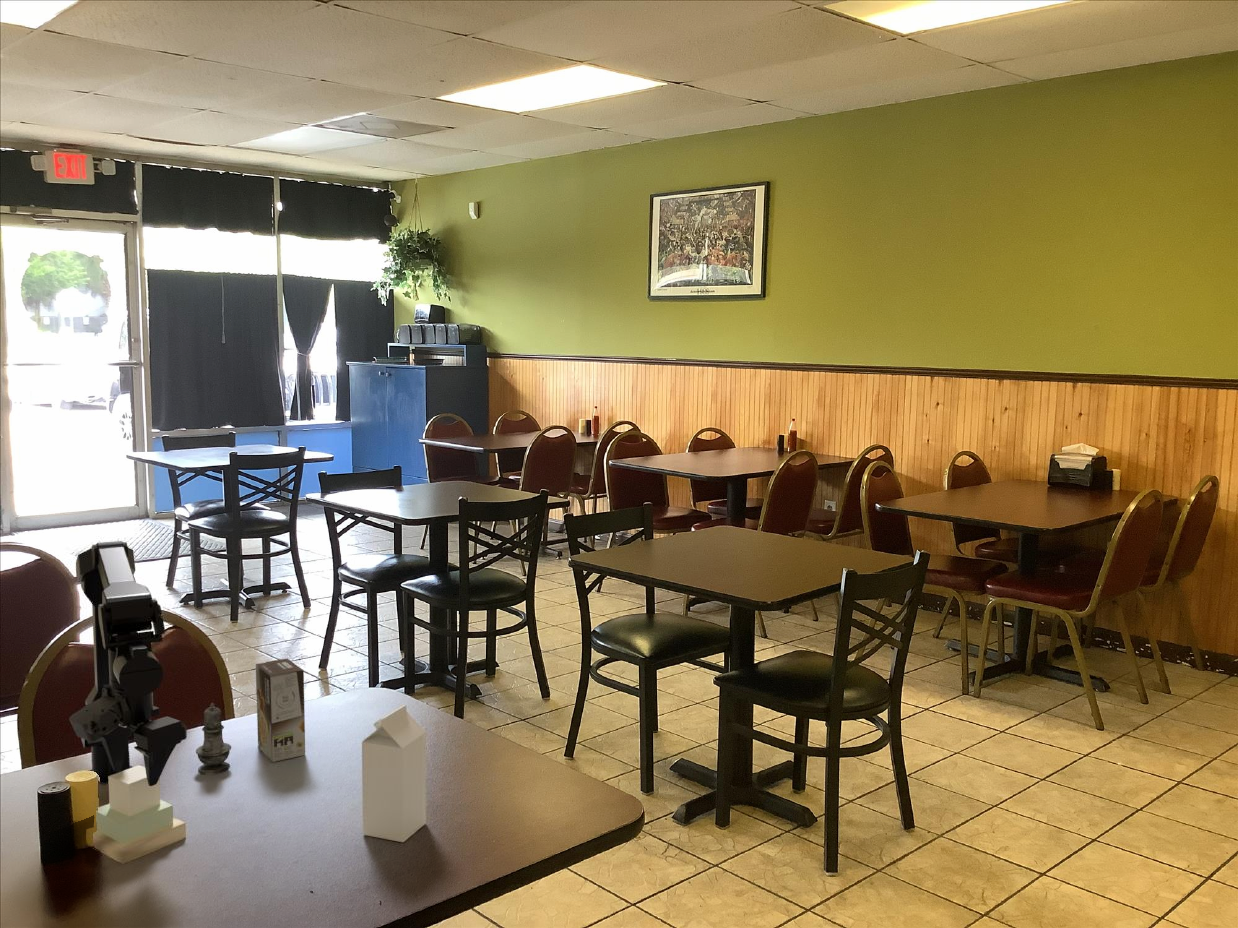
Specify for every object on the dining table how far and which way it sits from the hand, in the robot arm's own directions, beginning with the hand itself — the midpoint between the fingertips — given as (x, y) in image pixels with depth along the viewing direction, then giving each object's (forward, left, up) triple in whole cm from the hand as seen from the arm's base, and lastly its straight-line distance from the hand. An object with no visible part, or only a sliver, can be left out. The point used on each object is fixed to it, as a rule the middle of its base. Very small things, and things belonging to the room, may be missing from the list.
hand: (134, 777), depth 157 cm
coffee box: (-11, +35, -10) cm, 38 cm away
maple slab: (0, 0, -10) cm, 11 cm away
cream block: (0, 0, -4) cm, 5 cm away
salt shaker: (-14, +23, -10) cm, 29 cm away
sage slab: (0, 0, -8) cm, 8 cm away
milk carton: (+29, +25, -10) cm, 40 cm away
